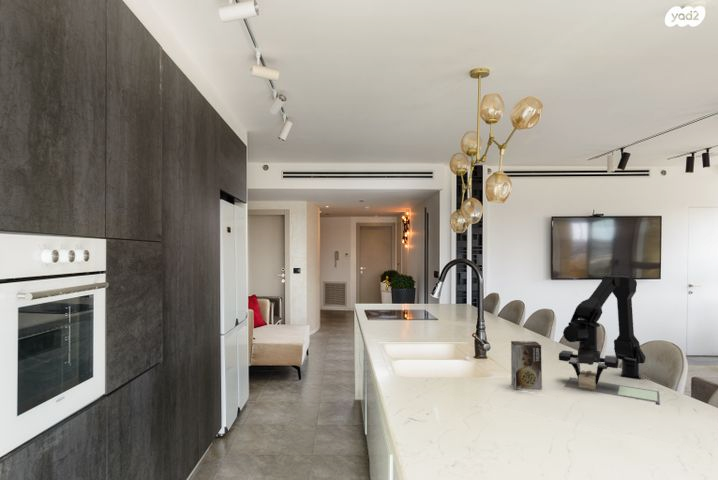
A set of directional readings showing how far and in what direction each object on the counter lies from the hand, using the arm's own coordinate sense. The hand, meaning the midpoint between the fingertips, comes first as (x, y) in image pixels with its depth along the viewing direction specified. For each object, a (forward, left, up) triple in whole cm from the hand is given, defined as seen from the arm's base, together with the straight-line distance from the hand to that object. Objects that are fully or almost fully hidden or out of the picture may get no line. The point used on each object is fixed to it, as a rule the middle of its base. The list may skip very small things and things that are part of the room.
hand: (588, 382), depth 154 cm
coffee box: (+15, -18, -2) cm, 23 cm away
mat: (0, +7, -1) cm, 7 cm away
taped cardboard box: (0, 0, -1) cm, 1 cm away
